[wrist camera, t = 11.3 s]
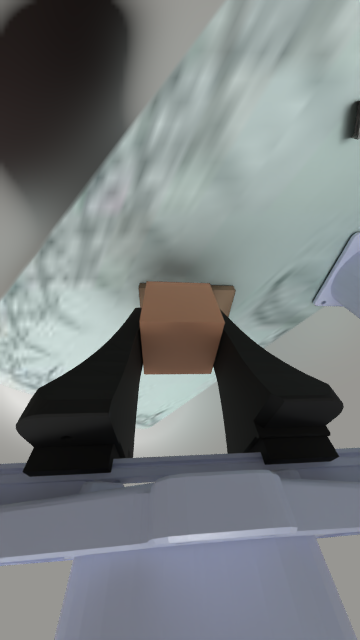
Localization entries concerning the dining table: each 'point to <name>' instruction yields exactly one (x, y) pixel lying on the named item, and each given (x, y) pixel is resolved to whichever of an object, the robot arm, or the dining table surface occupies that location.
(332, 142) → the dining table surface
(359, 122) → the wooden post with brackets
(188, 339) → the terracotta cube
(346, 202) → the dining table surface
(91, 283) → the dining table surface
